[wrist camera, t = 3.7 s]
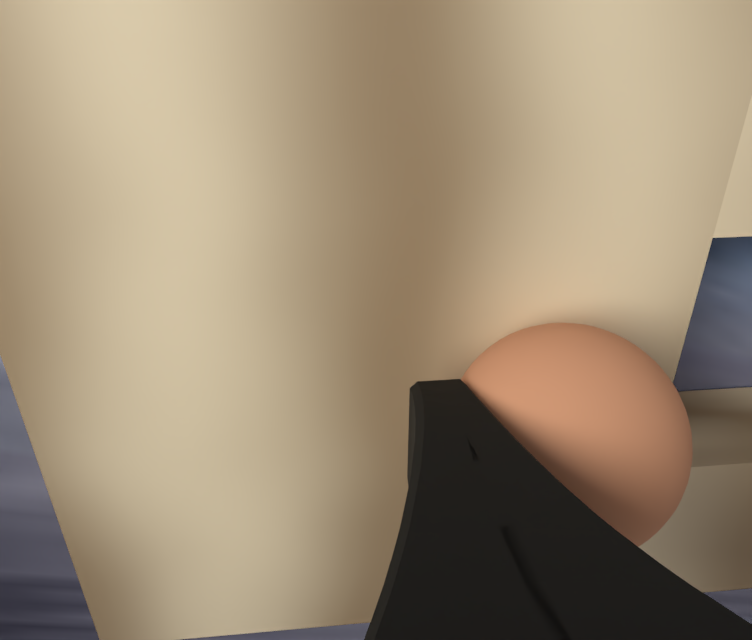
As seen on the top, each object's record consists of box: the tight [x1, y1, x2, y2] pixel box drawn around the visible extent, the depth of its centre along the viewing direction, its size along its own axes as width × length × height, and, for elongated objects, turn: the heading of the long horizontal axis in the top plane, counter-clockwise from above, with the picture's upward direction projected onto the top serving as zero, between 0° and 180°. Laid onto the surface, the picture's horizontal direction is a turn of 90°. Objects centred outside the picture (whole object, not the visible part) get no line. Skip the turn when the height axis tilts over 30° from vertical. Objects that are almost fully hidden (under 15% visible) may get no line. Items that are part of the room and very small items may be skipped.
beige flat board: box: [0, 0, 752, 640], centre depth 12 cm, size 18×13×2 cm
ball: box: [461, 323, 693, 547], centre depth 10 cm, size 4×4×4 cm
